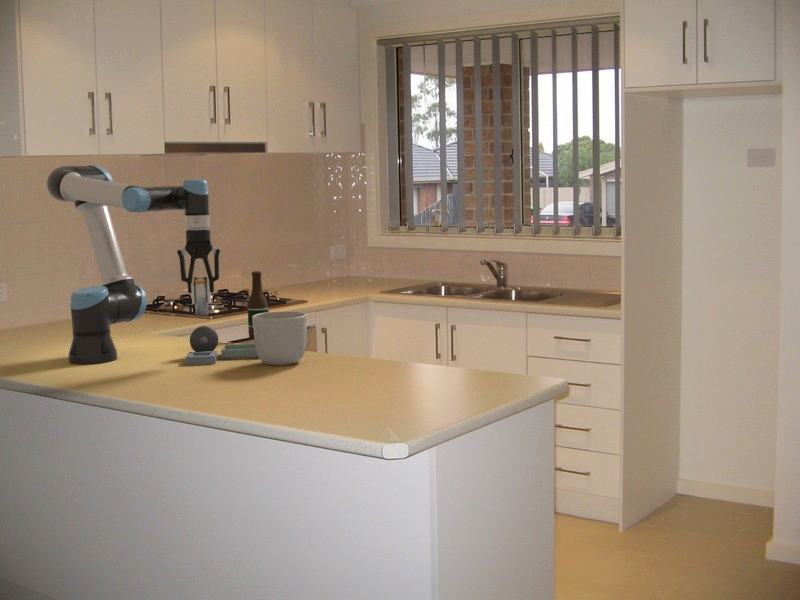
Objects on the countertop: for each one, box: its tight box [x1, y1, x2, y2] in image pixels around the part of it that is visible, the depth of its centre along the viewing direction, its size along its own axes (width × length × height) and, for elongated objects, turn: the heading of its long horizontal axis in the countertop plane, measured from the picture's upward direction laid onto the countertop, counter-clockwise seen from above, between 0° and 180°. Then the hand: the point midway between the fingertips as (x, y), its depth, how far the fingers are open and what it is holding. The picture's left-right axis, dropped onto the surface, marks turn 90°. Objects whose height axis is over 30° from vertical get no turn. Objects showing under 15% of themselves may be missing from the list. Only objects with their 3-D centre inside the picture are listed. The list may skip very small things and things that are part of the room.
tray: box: [220, 343, 260, 360], centre depth 329 cm, size 14×10×3 cm
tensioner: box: [185, 325, 219, 366], centre depth 324 cm, size 9×17×10 cm, turn 5°
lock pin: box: [193, 275, 210, 316], centre depth 318 cm, size 4×4×12 cm
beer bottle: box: [247, 270, 269, 340], centre depth 363 cm, size 8×8×24 cm
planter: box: [252, 310, 308, 367], centre depth 314 cm, size 17×17×15 cm
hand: (201, 303), depth 319 cm, fingers closed on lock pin, 4 cm apart
